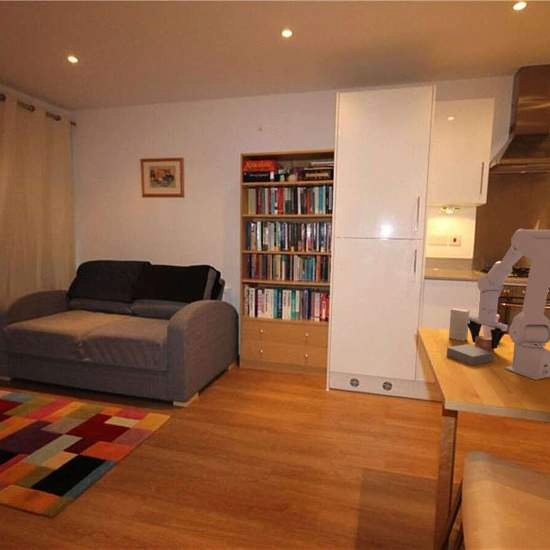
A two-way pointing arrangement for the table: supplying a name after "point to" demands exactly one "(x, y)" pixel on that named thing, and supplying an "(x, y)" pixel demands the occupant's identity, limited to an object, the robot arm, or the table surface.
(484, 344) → the cube
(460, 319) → the skincare box
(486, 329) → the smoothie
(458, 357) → the base block
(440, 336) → the table surface
